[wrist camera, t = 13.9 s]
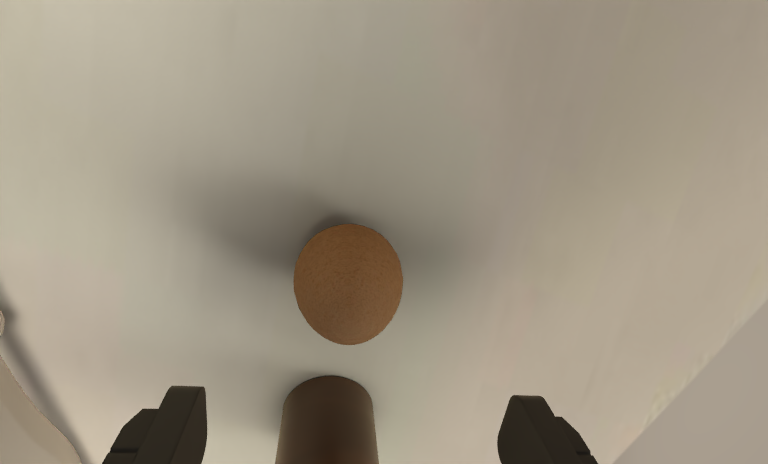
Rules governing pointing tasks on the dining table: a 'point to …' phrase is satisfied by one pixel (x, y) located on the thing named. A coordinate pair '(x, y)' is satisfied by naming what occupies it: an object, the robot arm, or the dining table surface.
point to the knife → (27, 427)
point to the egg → (348, 283)
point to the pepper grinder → (327, 424)
